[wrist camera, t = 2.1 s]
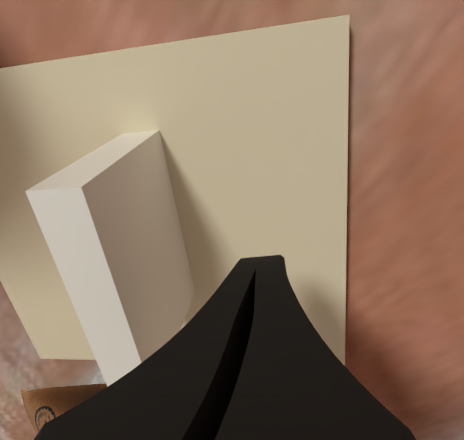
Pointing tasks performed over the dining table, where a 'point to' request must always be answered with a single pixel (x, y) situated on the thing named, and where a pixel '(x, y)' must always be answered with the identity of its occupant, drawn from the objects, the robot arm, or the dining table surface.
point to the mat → (192, 162)
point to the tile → (118, 248)
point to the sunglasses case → (55, 401)
